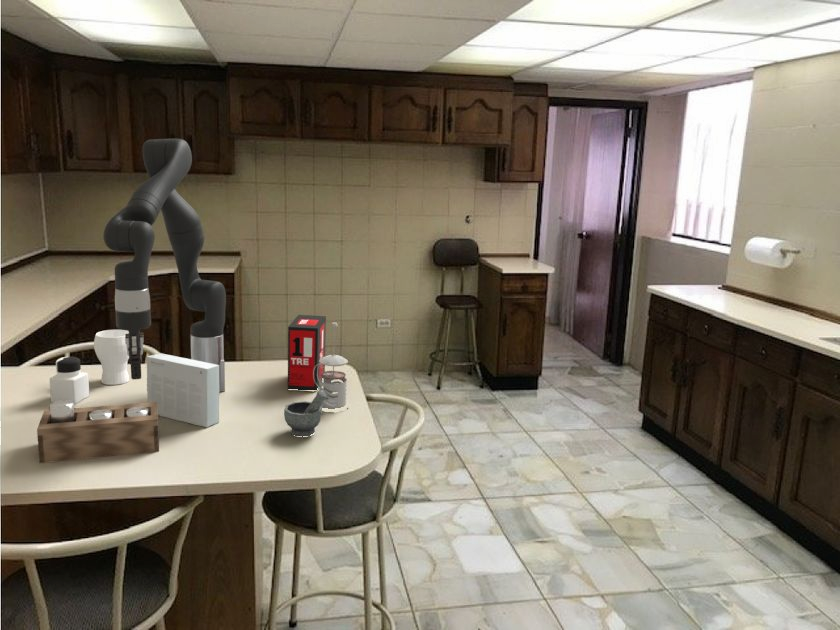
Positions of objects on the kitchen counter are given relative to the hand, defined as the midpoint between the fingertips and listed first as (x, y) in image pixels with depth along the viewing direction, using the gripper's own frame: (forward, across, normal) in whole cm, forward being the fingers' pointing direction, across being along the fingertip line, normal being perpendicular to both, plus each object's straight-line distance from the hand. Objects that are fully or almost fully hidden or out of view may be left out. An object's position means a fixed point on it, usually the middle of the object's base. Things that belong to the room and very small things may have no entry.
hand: (136, 378), depth 162 cm
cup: (+17, +50, +7) cm, 53 cm away
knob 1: (+10, 0, +16) cm, 19 cm away
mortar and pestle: (+17, -4, -40) cm, 43 cm away
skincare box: (+17, +15, -11) cm, 25 cm away
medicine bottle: (+17, +36, +18) cm, 44 cm away
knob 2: (+13, 0, 0) cm, 13 cm away
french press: (+17, +14, -51) cm, 55 cm away
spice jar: (+13, 0, +8) cm, 15 cm away
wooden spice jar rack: (+16, 0, +8) cm, 18 cm away
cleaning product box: (+17, +36, -49) cm, 63 cm away
